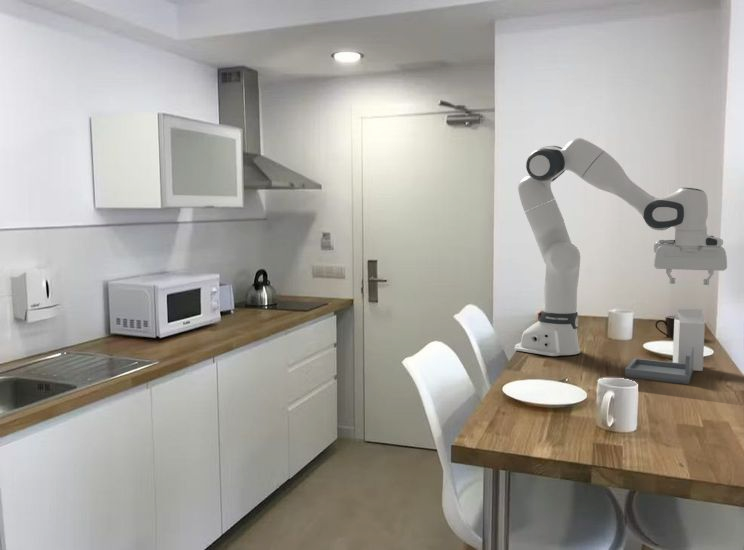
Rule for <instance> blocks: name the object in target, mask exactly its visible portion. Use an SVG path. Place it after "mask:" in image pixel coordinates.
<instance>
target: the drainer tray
mask: <svg viewBox="0 0 744 550" xmlns="http://www.w3.org/2000/svg"><path fill="white" fill-rule="evenodd" d="M693 357H694V347H690V349H689V351H688V353H687V355H686V364H684V363H675V362H673V361H665V360H664V361H663V360H655V359H644V358H634V357H633V358H632V360H631V361H630V362H629V363H628V364H627V366H626V367H624V377H626V378H633V379H639V380H641V379H643V380H649V381H656V382H667V383H674V384H683V385H689V384H690V381H691V379H692V377H693V373H694V370H693Z"/></svg>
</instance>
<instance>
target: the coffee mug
mask: <svg viewBox="0 0 744 550" xmlns="http://www.w3.org/2000/svg"><path fill="white" fill-rule="evenodd" d="M675 316H676V314H675V315H670V314H669V315H665V320H663V319H659V320H657V321H655V328H656V329H657V330H658V332H660V333H661V334H663V335H665V336H666V338H669V339H673V340H674V319H675ZM660 322H662V323H664V325H665V326H666V332H663V331H662V330H661V329H660V328H659V327H658V324H659V323H660Z"/></svg>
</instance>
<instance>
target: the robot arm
mask: <svg viewBox="0 0 744 550" xmlns="http://www.w3.org/2000/svg"><path fill="white" fill-rule="evenodd" d="M525 170H526V172H527V174H528V175H527V176H524V177H523V178H522V179H521V180H520V181H519V183H518V185H517V191H518V195H519V200H520V202H521V206H522V208H523V211H524V214H525V215H526V218H527V219H526V220H527V221H528V223H529V226H530V228H531V231H532V233H533V235H534V238H535V241H536V243H537V247H538V249H539V251H540V254H541V257H542V259H543V262H544V263H545V279H544V287H543V309H542V310H540V311H539V312H538V313H537V316H536V317H537V320H538V321H536V322H535V323H533V324H532V325H530V326H529V327H527V329H525V330H524V331H523V332H522V335H521V339H520V342H518V343H516V344H515V345H514V350H515V351H518V352H525V353H530V354H537V355H543V356H550V357H558V356H572V355H574V356H575V355H578V354H580V353H581V349H580V345H579V344H580V343H579V340H578V331H577V330H578V329H577V328H578V326H579V315H578V311H577V306H578V305H577V304H578V303H577V302H578V286H579V285H578V284H579V279H580V278H579V277H580V267H581V266H580V265H581V252H580V251H579V248H578V247H577V246H576V245H575V244H573V243H572V241H571V238H570V236H569V233H568V229H567V227H566V223H565V220H564V217H563V214H562V212H561V209H560V207H559V206H558V203H557V200H556V197H555V195H554V193H553V190H552V188H551V185H552V182H554V181H555V180H557V179H558V178H559V177H560V176H562V175H563V174H564V173H565V172H566V171H569V172H572V173H574V174H575V175H576V176H577V177H579V178H580V179H582V180H583V181H585V182H586V183H587V184H589V185H590V186H592V187H594V188H596V189H599V190H602V192H603V191H604V192H607V193H610V194H613V195H615V196H617V197H618V198H620V199H622V200H623V201H624V202H626V203H627V204H628V205H630V206H631V207H632V208H634V209H635V210H636V211H637V212H638V213H639V214H640V215H641V216H642V218H643V220H644V222H645V223H646V225H647V226H648V227H649V228H651V229H652V230H656V231H665V230H668V229H670V228H674V229H675V230H674V231H675V232H674V239H667V240H666V239H665V240H664V239H659V241H656V242H655V243H654V245H653V252H654V253H655V254H654V255H655V256H654V261H653V262H654V263H653V266H654V268H655V269H656V270H665V274H666V275H667V277H668V278H669V284H670V285H671V284H673V285H674V284H676V277H673V275H672V274H671V273H672V272H673V270H682V271H683V270H684V271H688V270H689V271H707V274H708V277H707V278H703V286H710V280H711V278H712V277H713V276H714V274H715V273H714V272H715V271H716V272H717V271H718V272H719V271H720V272H724V271H726V270H727V268H728V258H727V257H728V256H727V252H726V248H724V247H723V244H724V240H723V239H722V238H719V237H716V236H714V235H708V228H707V227H708V226H707V219H708V216H709V215H708V214H709V212H708V211H709V209H708V208H709V207H708V206H709V205H708V196H707V193H705V191H704V190H702V189H698V188H694V187H680V188H678V189H677V190H676V191H674V192H672V193H670V194H668V195H665V196H663V197H660V198H657V197H655V196H653V195H651V194H650V193H648V192H647V191H646V190H644V189H643V188H642V187H640V186H639V185H637V183H635V182H634V181H632V180H631V178H630V176H629V177H628V175H627V174H626V172H625V170H624V169H623V167H622V166H621V164H620V163H619V162H618V161H617V160H616V159H615V158H614V157H613V156H612V155H610V153H608V152H606V151H605V150H603V149H602V148H601V147H600V146H599V145H596V144H594V143H592V142H591V141H588V140H586V139H584V138H581V137H576V138H573V139H571V140H570V141H569V142H567V144H565V146H564V147H561V146H557V145H549V146H548V145H547V146H542V147H540V148H538V149H536V150H533V152H531V154H529V156H528V157H527V159H526V164H525Z"/></svg>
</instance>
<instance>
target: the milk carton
mask: <svg viewBox="0 0 744 550" xmlns="http://www.w3.org/2000/svg"><path fill="white" fill-rule="evenodd" d="M675 315H676V316H675V319H674V339H673V344H672V345H673V348H672V362H675V363H684V364H686V355H687V353H688V351H689V349H690V347H694V357H693V371H694V372H695V371H696V372H697V371H698V372H702V371H703V369H704V352H705V351H704V350H705V327H706V322H705V317H704V314H703V309H702V308H677V309H676V314H675Z"/></svg>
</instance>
